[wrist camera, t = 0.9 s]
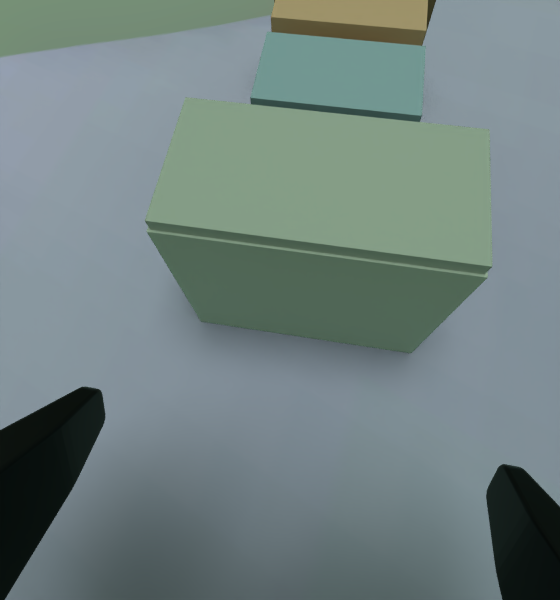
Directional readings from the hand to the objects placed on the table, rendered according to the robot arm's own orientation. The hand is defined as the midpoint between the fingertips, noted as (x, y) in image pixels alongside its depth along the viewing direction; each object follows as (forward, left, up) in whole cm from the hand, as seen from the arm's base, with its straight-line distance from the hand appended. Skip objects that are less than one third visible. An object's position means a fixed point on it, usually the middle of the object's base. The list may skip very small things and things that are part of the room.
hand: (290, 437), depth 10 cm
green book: (+9, +1, -13) cm, 16 cm away
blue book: (+15, +2, -13) cm, 20 cm away
